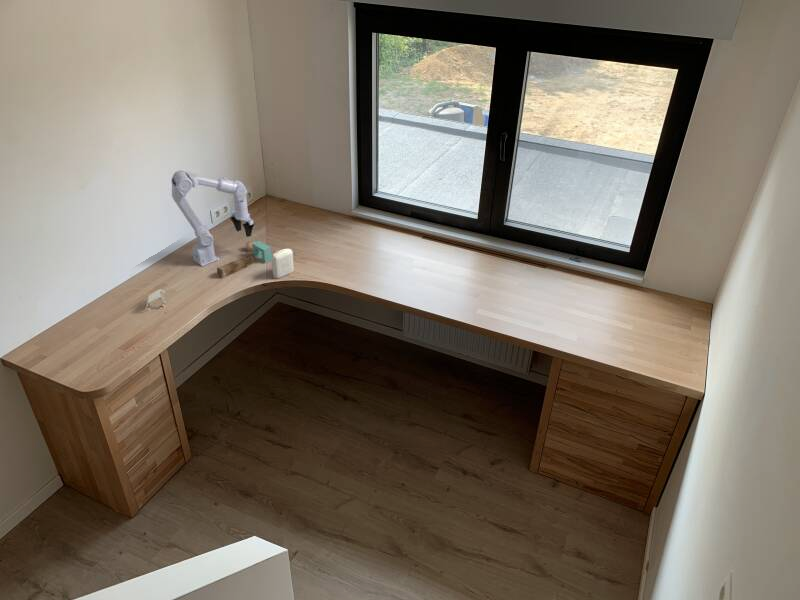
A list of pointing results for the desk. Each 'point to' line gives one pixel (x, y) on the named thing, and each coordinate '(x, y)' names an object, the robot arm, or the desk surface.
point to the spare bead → (249, 246)
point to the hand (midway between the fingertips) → (243, 233)
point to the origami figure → (155, 297)
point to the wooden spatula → (234, 266)
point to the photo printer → (282, 263)
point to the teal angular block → (262, 251)
